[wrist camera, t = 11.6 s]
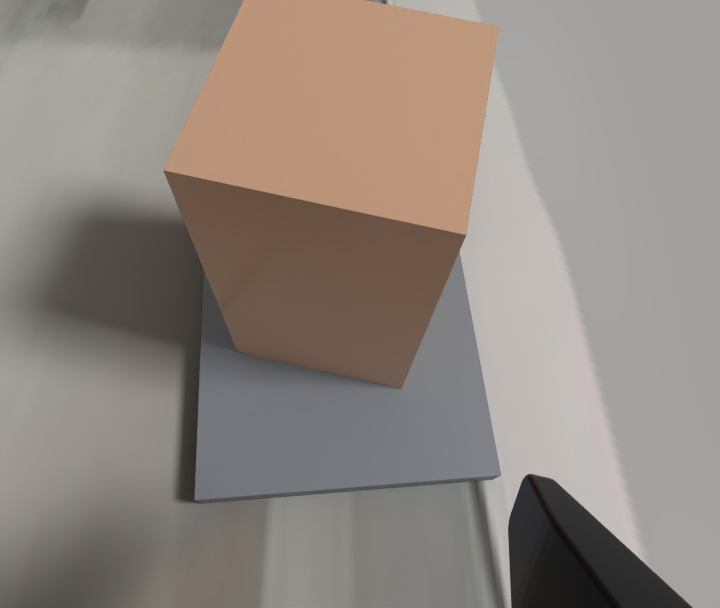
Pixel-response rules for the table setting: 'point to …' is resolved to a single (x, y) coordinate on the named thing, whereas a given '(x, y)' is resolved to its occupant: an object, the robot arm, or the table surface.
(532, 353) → the table surface
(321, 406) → the post board
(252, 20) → the cover box
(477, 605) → the table surface
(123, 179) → the table surface
